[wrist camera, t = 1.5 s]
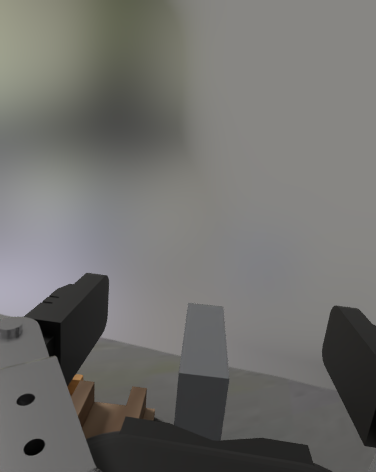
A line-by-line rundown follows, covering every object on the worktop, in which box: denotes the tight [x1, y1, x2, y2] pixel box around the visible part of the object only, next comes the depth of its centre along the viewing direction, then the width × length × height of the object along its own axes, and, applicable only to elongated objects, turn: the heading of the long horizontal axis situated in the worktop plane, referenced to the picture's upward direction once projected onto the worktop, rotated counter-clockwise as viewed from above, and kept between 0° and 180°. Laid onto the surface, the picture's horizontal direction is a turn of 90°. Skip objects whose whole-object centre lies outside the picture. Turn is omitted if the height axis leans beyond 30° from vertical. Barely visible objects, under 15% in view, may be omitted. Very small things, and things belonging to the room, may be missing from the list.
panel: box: [174, 303, 229, 441], centre depth 26 cm, size 3×9×15 cm, turn 176°
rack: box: [68, 374, 155, 439], centre depth 28 cm, size 20×15×4 cm
